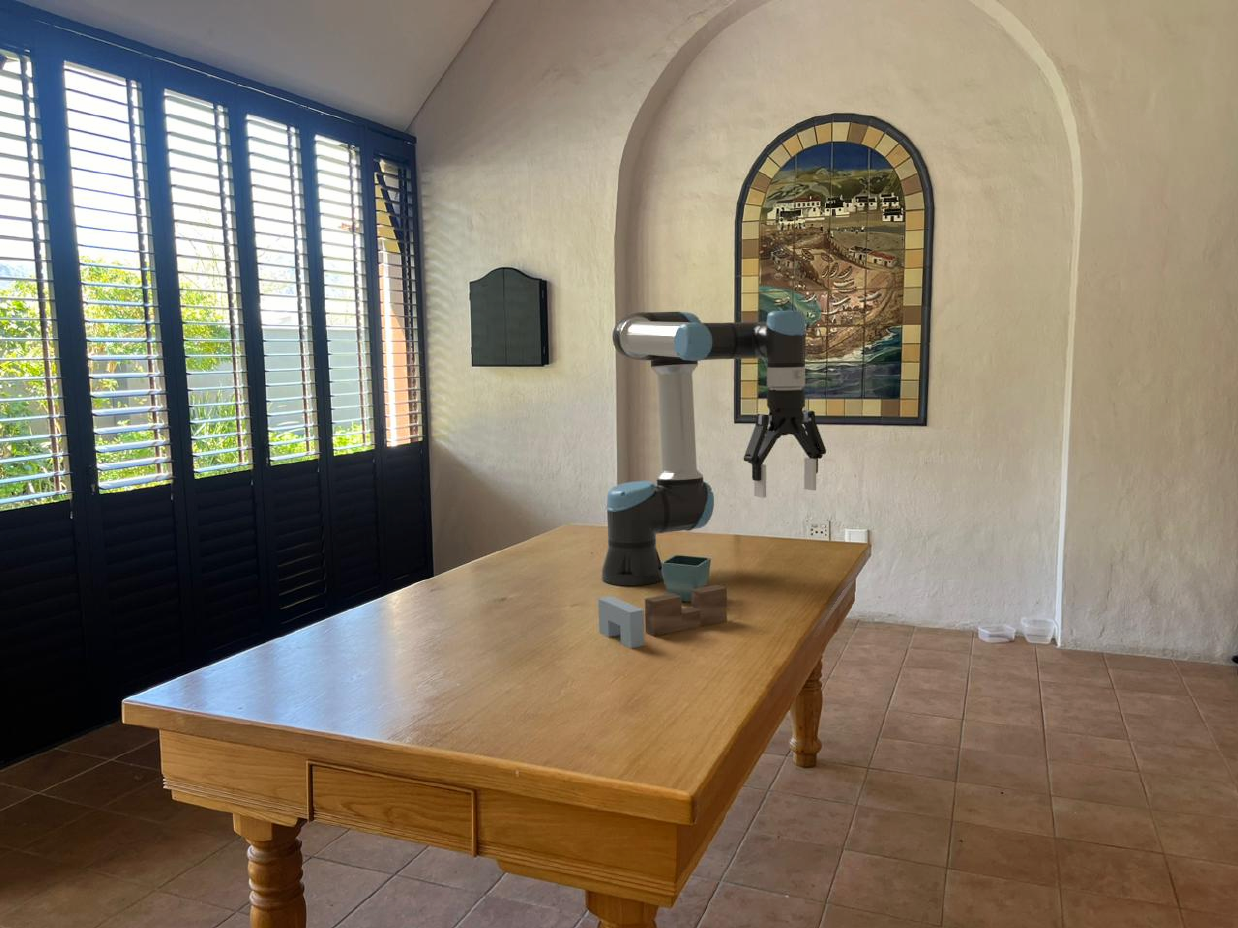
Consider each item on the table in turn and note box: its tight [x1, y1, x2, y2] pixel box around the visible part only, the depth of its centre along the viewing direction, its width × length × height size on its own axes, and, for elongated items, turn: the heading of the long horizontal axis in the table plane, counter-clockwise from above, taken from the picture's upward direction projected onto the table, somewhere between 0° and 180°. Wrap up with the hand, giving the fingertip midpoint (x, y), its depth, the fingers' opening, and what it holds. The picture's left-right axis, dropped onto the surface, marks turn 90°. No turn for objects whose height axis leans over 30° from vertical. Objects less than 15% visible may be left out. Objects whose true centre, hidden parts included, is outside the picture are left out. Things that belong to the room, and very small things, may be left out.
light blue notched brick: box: [597, 595, 645, 649], centre depth 183 cm, size 12×3×7 cm, turn 31°
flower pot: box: [661, 554, 712, 603], centre depth 210 cm, size 9×9×9 cm
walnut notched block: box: [644, 584, 728, 637], centre depth 190 cm, size 3×18×7 cm, turn 121°
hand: (785, 493), depth 191 cm, fingers open, 13 cm apart
